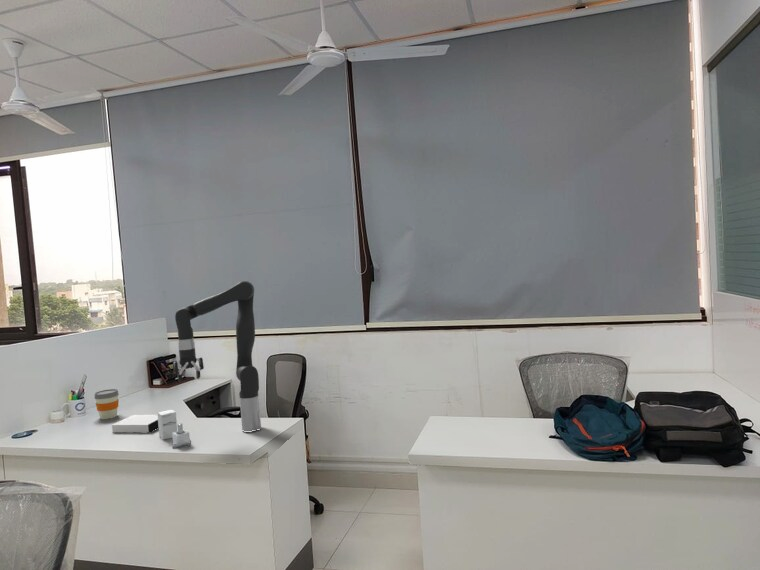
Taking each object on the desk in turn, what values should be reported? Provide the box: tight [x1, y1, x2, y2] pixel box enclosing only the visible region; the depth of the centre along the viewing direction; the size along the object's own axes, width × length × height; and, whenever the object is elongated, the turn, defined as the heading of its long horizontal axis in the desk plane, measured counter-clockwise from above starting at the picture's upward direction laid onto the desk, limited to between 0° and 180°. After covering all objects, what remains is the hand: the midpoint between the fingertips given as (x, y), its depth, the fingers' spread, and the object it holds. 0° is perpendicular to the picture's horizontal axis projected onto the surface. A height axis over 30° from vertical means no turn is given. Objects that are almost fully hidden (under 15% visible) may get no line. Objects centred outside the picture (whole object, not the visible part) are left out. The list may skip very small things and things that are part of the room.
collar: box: [171, 429, 191, 446], centre depth 249 cm, size 6×6×5 cm
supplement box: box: [156, 409, 178, 441], centre depth 263 cm, size 7×7×13 cm
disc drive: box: [111, 414, 159, 433], centre depth 282 cm, size 18×22×5 cm
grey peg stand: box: [171, 423, 191, 449], centre depth 249 cm, size 7×7×10 cm
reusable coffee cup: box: [94, 388, 120, 420], centre depth 307 cm, size 13×13×15 cm
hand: (189, 380), depth 260 cm, fingers open, 8 cm apart
